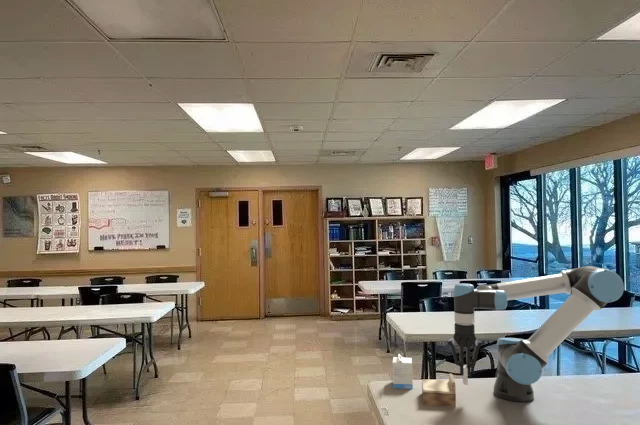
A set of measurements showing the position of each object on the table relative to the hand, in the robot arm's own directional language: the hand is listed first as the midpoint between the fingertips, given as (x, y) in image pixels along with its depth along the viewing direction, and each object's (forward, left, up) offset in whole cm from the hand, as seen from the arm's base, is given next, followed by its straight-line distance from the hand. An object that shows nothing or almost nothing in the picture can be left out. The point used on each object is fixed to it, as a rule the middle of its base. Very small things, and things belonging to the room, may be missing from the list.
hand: (465, 383), depth 167 cm
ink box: (+24, -14, -8) cm, 29 cm away
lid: (+10, 0, -2) cm, 11 cm away
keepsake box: (+10, 0, -8) cm, 13 cm away
